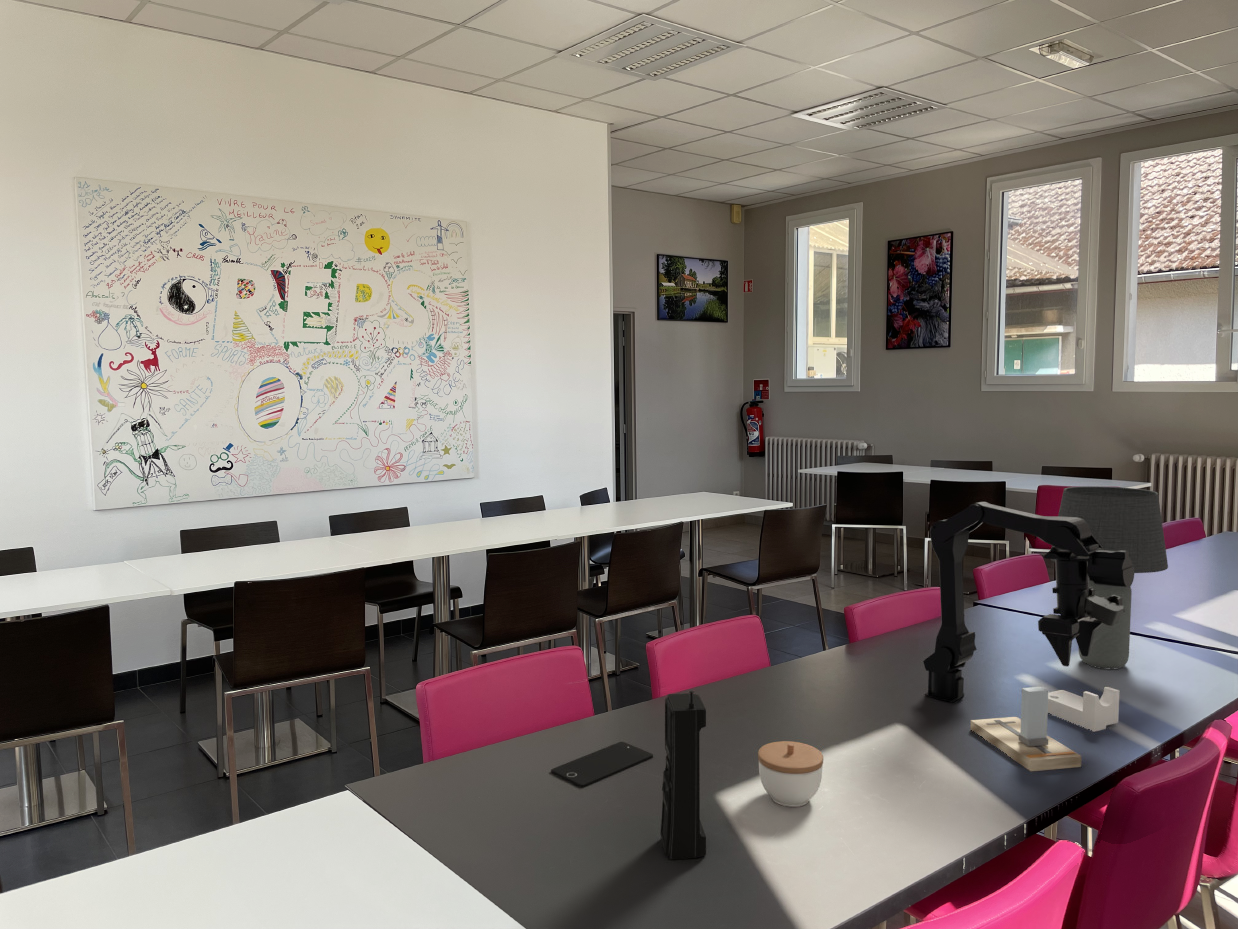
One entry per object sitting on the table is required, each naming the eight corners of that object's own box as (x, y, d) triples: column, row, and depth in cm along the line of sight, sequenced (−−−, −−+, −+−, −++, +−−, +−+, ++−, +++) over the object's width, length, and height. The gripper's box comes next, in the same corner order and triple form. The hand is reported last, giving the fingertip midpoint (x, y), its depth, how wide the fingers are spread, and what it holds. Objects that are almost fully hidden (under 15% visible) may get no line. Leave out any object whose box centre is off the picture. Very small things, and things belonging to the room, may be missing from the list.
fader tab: (1018, 740, 162) (1020, 687, 161) (1037, 738, 162) (1039, 685, 161) (1028, 746, 159) (1030, 692, 158) (1048, 744, 159) (1050, 691, 158)
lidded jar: (754, 783, 150) (754, 731, 149) (815, 784, 150) (816, 731, 149) (762, 814, 139) (762, 758, 138) (829, 814, 139) (829, 758, 138)
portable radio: (658, 833, 133) (657, 676, 131) (697, 831, 134) (696, 675, 132) (665, 861, 126) (664, 694, 123) (706, 858, 126) (706, 693, 124)
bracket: (1118, 727, 174) (1119, 690, 173) (1093, 733, 171) (1095, 696, 170) (1061, 705, 185) (1062, 671, 185) (1038, 711, 183) (1039, 676, 182)
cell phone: (549, 774, 155) (549, 769, 155) (621, 745, 168) (621, 740, 167) (582, 790, 149) (582, 785, 149) (654, 759, 161) (654, 754, 161)
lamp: (1182, 667, 208) (1191, 491, 205) (1131, 689, 194) (1139, 500, 190) (1078, 643, 229) (1084, 483, 225) (1025, 660, 215) (1031, 490, 211)
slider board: (970, 730, 172) (970, 719, 172) (1016, 726, 174) (1016, 716, 174) (1030, 771, 153) (1031, 760, 153) (1081, 766, 155) (1081, 755, 155)
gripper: (1097, 594, 157) (1101, 679, 157) (1135, 578, 169) (1138, 657, 169) (1035, 588, 165) (1038, 668, 166) (1075, 574, 177) (1078, 649, 178)
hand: (1075, 661), depth 169 cm, fingers open, 9 cm apart
